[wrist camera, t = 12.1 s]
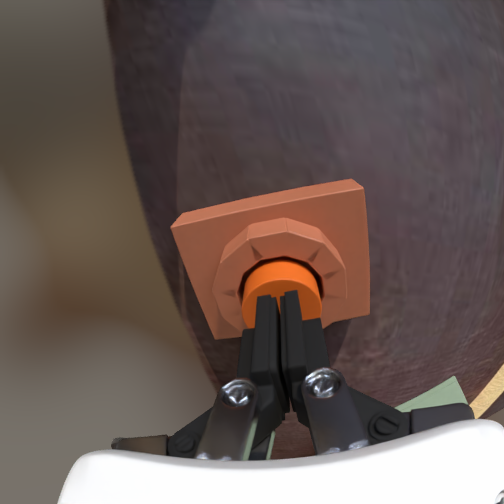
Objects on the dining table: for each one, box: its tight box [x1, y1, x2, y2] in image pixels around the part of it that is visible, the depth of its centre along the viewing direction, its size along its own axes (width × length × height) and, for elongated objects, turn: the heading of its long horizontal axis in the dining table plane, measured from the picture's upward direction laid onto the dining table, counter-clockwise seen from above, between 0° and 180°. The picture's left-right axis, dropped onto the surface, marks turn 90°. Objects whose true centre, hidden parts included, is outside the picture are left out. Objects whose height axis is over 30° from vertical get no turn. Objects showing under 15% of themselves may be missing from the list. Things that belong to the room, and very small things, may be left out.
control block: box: [171, 179, 370, 339], centre depth 15 cm, size 10×8×4 cm
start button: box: [241, 260, 322, 329], centre depth 13 cm, size 4×4×2 cm
